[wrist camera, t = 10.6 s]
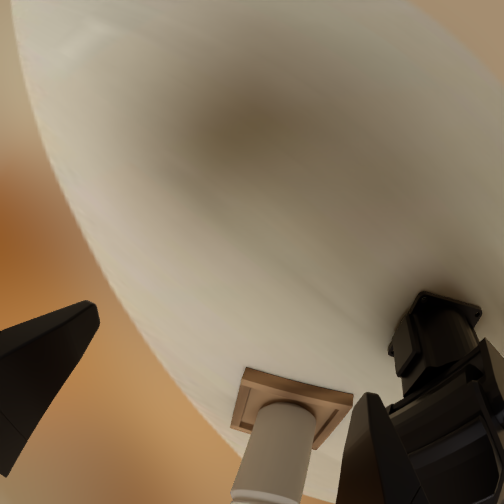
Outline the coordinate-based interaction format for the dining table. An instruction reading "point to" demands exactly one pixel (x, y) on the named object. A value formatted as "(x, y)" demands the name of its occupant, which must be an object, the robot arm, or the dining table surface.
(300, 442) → the beverage can
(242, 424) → the tray
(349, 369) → the dining table surface
